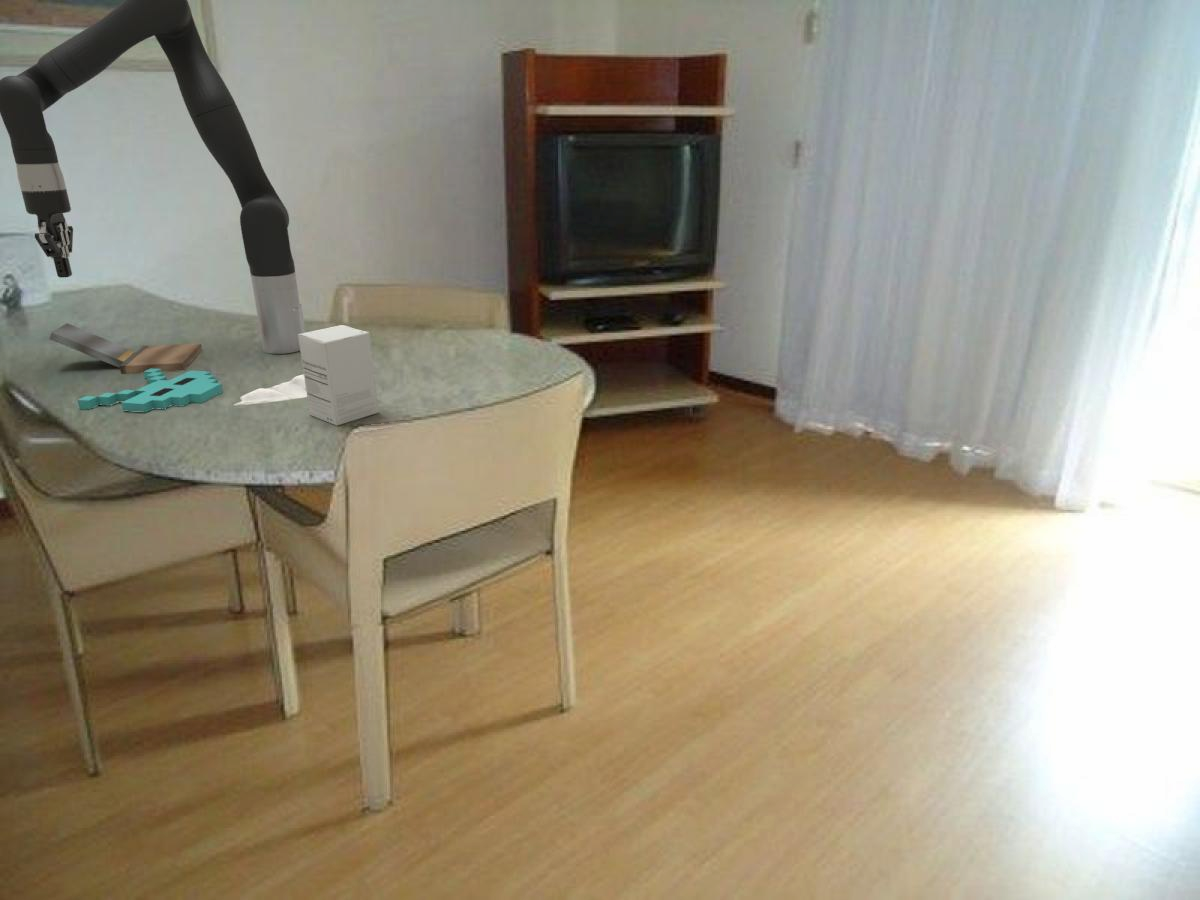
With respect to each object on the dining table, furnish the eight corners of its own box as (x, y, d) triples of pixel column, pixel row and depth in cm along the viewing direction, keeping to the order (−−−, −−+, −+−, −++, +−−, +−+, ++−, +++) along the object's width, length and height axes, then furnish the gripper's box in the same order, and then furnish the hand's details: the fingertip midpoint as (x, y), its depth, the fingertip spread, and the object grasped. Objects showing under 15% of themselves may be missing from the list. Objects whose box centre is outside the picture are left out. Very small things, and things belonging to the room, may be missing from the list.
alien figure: (80, 411, 150) (179, 417, 147) (77, 399, 149) (177, 406, 146) (153, 378, 169) (242, 384, 165) (150, 368, 168) (241, 373, 165)
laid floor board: (202, 351, 186) (200, 342, 186) (184, 371, 172) (182, 362, 171) (145, 354, 184) (143, 345, 183) (121, 374, 170) (119, 365, 169)
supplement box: (351, 402, 153) (342, 323, 148) (380, 413, 148) (371, 331, 142) (307, 415, 147) (296, 332, 141) (335, 426, 141) (324, 341, 136)
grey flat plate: (133, 358, 180) (136, 351, 180) (121, 368, 173) (124, 362, 173) (64, 329, 175) (67, 323, 175) (49, 339, 168) (51, 332, 168)
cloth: (244, 416, 148) (242, 405, 147) (211, 400, 157) (209, 388, 156) (370, 384, 166) (369, 373, 165) (334, 371, 174) (333, 360, 173)
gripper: (50, 190, 156) (73, 282, 163) (77, 184, 168) (97, 270, 175) (6, 191, 155) (31, 283, 161) (36, 185, 167) (58, 271, 173)
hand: (65, 276), depth 168 cm, fingers closed
